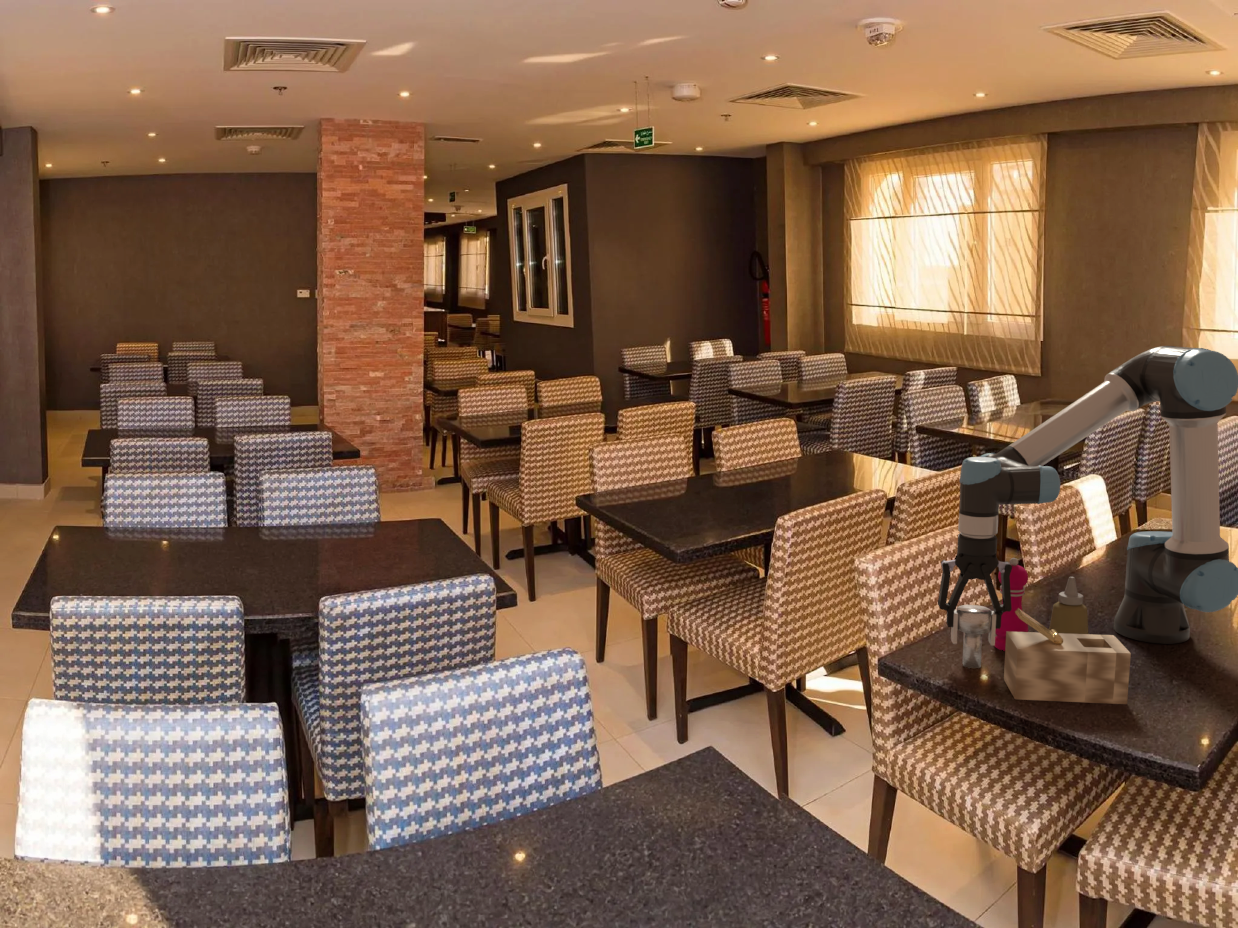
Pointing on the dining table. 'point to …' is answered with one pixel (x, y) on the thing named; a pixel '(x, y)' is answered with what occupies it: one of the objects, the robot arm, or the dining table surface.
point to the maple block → (1067, 668)
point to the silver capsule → (973, 632)
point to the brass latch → (1040, 627)
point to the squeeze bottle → (1070, 611)
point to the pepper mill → (1012, 605)
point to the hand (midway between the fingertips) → (972, 642)
